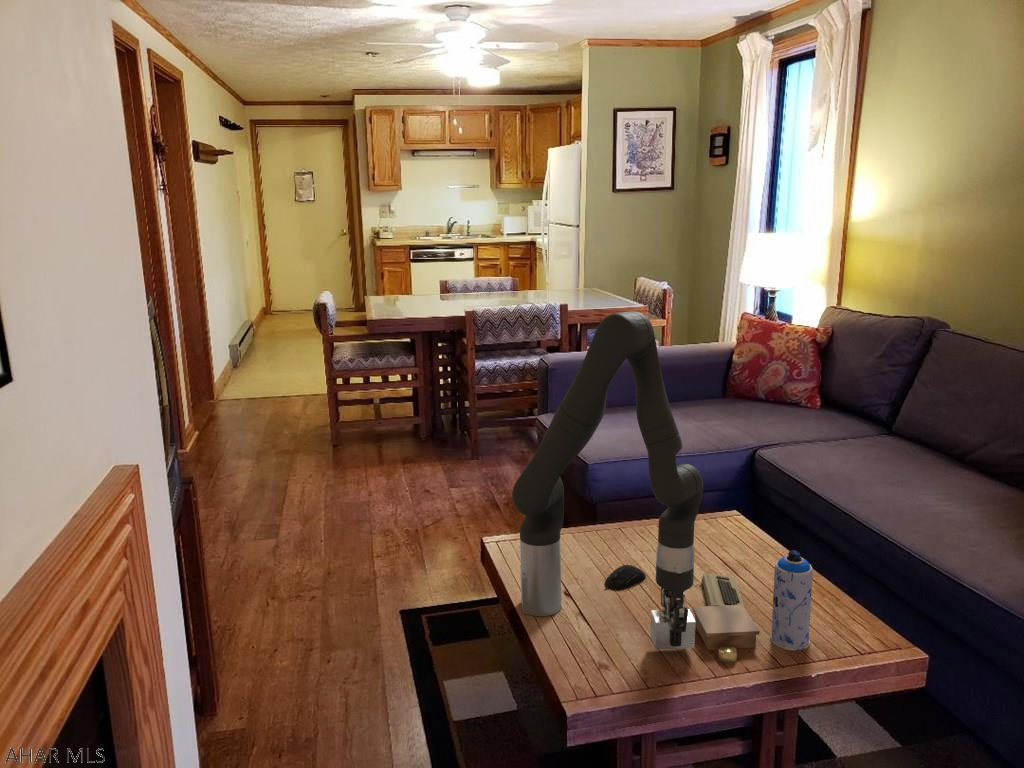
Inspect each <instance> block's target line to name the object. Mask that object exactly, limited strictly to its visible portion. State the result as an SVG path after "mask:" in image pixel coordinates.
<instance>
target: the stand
mask: <svg viewBox="0 0 1024 768" xmlns="http://www.w3.org/2000/svg"><path fill="white" fill-rule="evenodd" d="M744 607H745V606H744ZM744 607H743V605H725V606H708V605H706V606H692V612H693V614H694V616H695V617H694V620H695V622H696V624H695V628H696V629H697V631H698V633H699V636H700V637H701V639H702V640H703V643H704V645H705V647H706V648H707V650H708V651H709V650H710V651H711V650H719V647H721V646H724V645H728V646H732V647H734V648H736V649H744V648H746V649H747V648H756V647H757V635H758V636H759V635H761V634H760V632H761V631H760V630H759V628H758V626H757V625H756V622H754V620H753V619H752V617H751V616H750V615H749V613H748V611H747V609H746V608H744ZM745 609H746V610H745Z"/></svg>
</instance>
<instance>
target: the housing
mask: <svg viewBox="0 0 1024 768" xmlns="http://www.w3.org/2000/svg"><path fill="white" fill-rule="evenodd" d="M671 614H674V612H671ZM695 624H696V622H695V617H694V616H693V613H692V612H691V610H690V608H689V609H688V617H687V625H686V632H682V640H681V646H674V647H672V646H671V645H670V618H668V617H667V610H663V609H652V610H650V630H649V631H650V638H651V642H652V644H653V646H654V649H655V650H681V649H684V650H685V649H688V650H689V649H695V644H696V626H695Z"/></svg>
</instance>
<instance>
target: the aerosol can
mask: <svg viewBox="0 0 1024 768" xmlns="http://www.w3.org/2000/svg"><path fill="white" fill-rule="evenodd" d="M813 571H814V570H813V567H812V564H810V563H809V561H808V560H807V559H806V558H803V557H801V552H799V551H798V550H795V549H791V550H790V549H789V551H788V554H787V555H785V556H782V557H781V558H780V559H778V560H777V561H776V562H775V565H774V573H773V574H774V576H773V594H772V595H773V596H772V597H773V598H772V615H771V616H772V617H771V633H770V641H771V642H772V643H773V644H774V645H775V646H777V647H778V648H781V649H784V650H789V651H803V650H805V649H808V648H809V646H810V644H811V643H810V642H811V641H810V625H811V611H812V610H811V609H812V608H811V607H812V591H813V574H814V572H813Z"/></svg>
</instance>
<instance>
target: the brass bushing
mask: <svg viewBox="0 0 1024 768" xmlns="http://www.w3.org/2000/svg"><path fill="white" fill-rule="evenodd" d="M717 658H718V660H719V661H720V662H722V663H724V664H729V665H730V664H734V663H736V662H737V661H738V650H737V648H734V647H732V646H728V645H724V646H721V647H719V649H718V657H717Z"/></svg>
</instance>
